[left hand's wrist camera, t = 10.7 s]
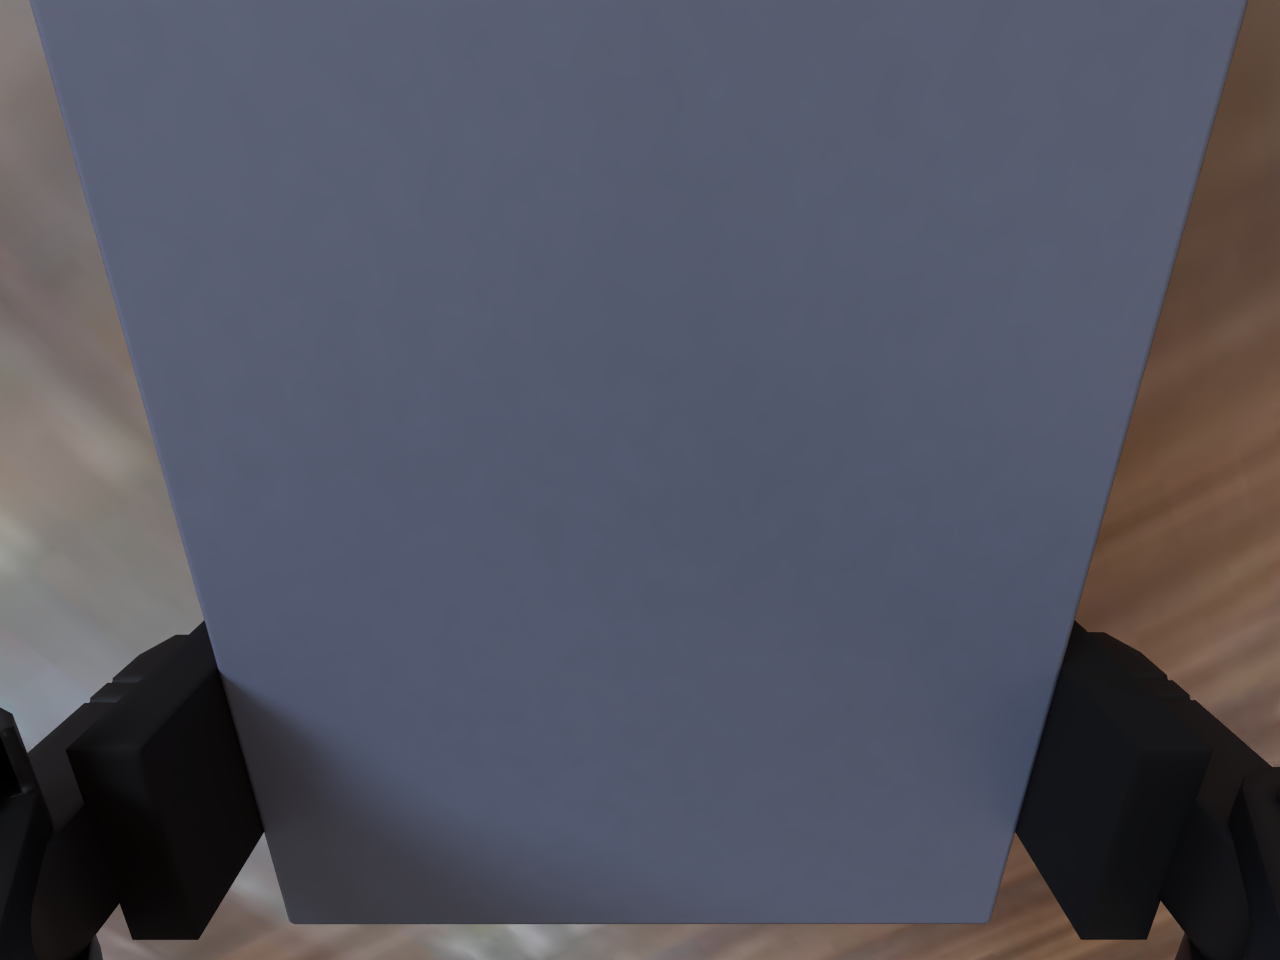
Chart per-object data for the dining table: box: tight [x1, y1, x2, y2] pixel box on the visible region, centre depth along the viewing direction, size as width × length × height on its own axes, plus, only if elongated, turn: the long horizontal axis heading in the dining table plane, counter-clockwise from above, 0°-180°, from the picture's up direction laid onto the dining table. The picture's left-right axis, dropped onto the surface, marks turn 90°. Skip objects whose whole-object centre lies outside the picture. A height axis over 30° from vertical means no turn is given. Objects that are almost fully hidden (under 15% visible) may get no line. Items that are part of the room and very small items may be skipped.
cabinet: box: [30, 0, 1248, 924], centre depth 10 cm, size 21×10×10 cm, turn 0°
